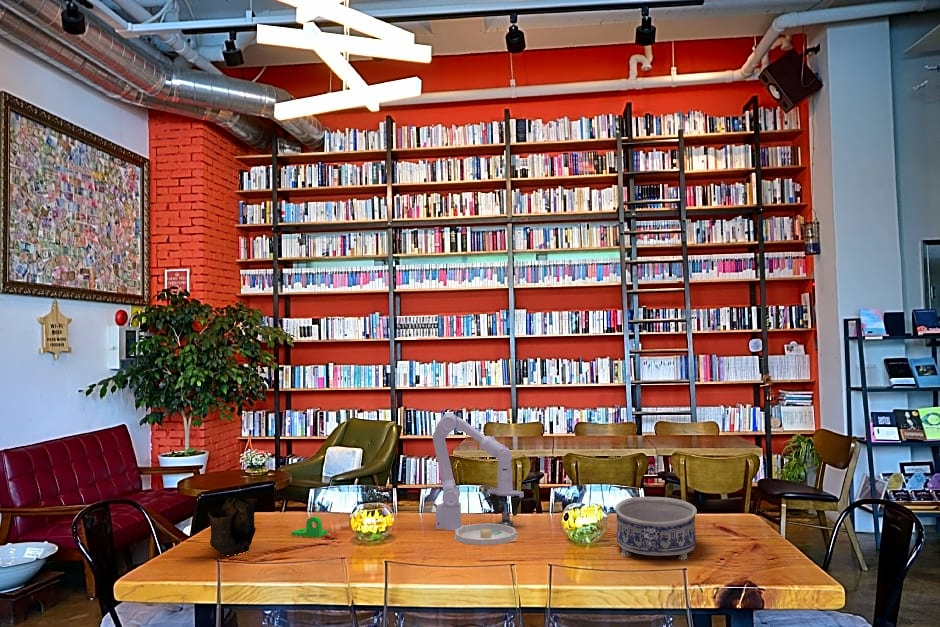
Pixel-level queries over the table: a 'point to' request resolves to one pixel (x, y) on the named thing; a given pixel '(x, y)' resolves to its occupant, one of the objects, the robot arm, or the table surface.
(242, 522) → the pottery vessel
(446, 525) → the robot arm
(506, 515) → the planet gear
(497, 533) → the carrier
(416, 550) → the table surface
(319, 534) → the mechanical part
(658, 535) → the decorative bowl
